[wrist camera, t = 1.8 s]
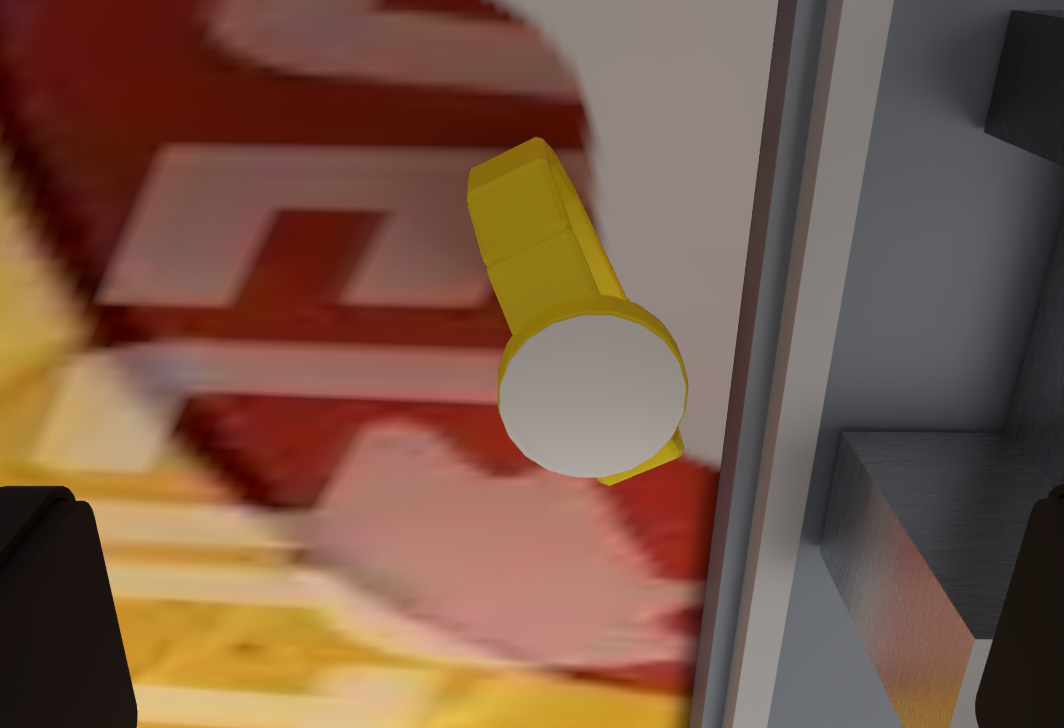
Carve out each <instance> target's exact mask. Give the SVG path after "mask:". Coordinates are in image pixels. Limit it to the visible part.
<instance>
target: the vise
mask: <svg viewBox="0 0 1064 728" xmlns="http://www.w3.org/2000/svg"><path fill="white" fill-rule="evenodd" d="M1011 10H1062V11H1064V0H779V2H778V10H777V18H776V26H775V34H774V42H773V50H772V59H771V67H770V75H769V82H768V90H767V99H766V107H765V115H764V123H763V131H762V139H761V147H760V156H759V164H758V171H757V179H756V188H755V195H754V203H753V211H752V220H751V228H750V236H749V244H748V252H747V260H746V268H745V276H744V284H743V292H742V300H741V308H740V317H739V325H738V333H737V341H736V349H735V357H734V365H733V373H732V381H731V390H730V398H729V405H728V413H727V421H726V430H725V437H724V445H723V453H722V462H721V470H720V478H719V486H718V494H717V502H716V510H715V518H714V526H713V534H712V542H711V550H710V558H709V566H708V574H707V582H706V591H705V599H704V607H703V615H702V623H701V631H700V639H699V647H698V655H697V663H696V671H695V679H694V687H693V695H692V703H691V712H690V720H689V728H903V726H902V724H901V722H900V720H899V718H898V715H897V713H896V711H895V709H894V707H893V705H892V703H891V701H890V699H889V697H888V695H887V692H886V690H885V688H884V686H883V684H882V682H881V680H880V678H879V676H878V674H877V672H876V669H875V667H874V665H873V663H872V661H871V659H870V657H869V655H868V653H867V651H866V649H865V646H864V644H863V642H862V640H861V638H860V636H859V634H858V632H857V630H856V628H855V626H854V623H853V621H852V619H851V617H850V615H849V613H848V611H847V609H846V607H845V605H844V603H843V600H842V598H841V596H840V594H839V592H838V590H837V588H836V586H835V584H834V582H833V580H832V577H831V575H830V573H829V571H828V569H827V567H826V565H825V563H824V561H823V559H822V557H821V554H820V552H819V551H820V546H821V540H822V535H823V530H824V524H825V519H826V513H827V508H828V503H829V497H830V492H831V487H832V481H833V476H834V471H835V465H836V460H837V455H838V449H839V444H840V439H841V433H842V431H863V432H954V433H1004V430H1005V426H1006V422H1007V419H1008V415H1009V411H1010V408H1011V404H1012V400H1013V397H1014V393H1015V390H1016V386H1017V382H1018V379H1019V375H1020V371H1021V368H1022V364H1023V360H1024V357H1025V353H1026V350H1027V346H1028V342H1029V339H1030V335H1031V331H1032V328H1033V324H1034V320H1035V317H1036V313H1037V310H1038V306H1039V302H1040V299H1041V295H1042V291H1043V288H1044V284H1045V280H1046V277H1047V273H1048V270H1049V266H1050V262H1051V259H1052V255H1053V251H1054V248H1055V244H1056V240H1057V237H1058V233H1059V229H1060V226H1061V222H1062V219H1063V215H1064V167H1063V166H1061V165H1058V164H1056V163H1054V162H1051V161H1049V160H1047V159H1044V158H1042V157H1040V156H1037V155H1035V154H1033V153H1030V152H1028V151H1026V150H1023V149H1021V148H1019V147H1016V146H1014V145H1012V144H1009V143H1007V142H1005V141H1002V140H1000V139H998V138H995V137H993V136H991V135H988V134H986V133H984V128H985V124H986V119H987V115H988V110H989V106H990V102H991V97H992V93H993V88H994V84H995V80H996V75H997V71H998V66H999V62H1000V58H1001V53H1002V49H1003V44H1004V40H1005V36H1006V31H1007V27H1008V22H1009V18H1010V14H1011Z"/></svg>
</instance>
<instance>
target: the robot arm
mask: <svg viewBox="0 0 1064 728" xmlns="http://www.w3.org/2000/svg"><path fill="white" fill-rule="evenodd" d="M975 714H976V720H977V724H978V727H979V728H1064V484H1061V485H1058V486H1055V487H1054V488H1053V489H1052V490H1051V492H1050V493H1049V494H1048V496H1047V498H1043V499H1040V500H1038V501H1037V502H1036V503H1035V504H1034V506H1033V508H1032V510H1031V513H1030V516H1029V520H1028V523H1027V526H1026V530H1025V533H1024V537H1023V540H1022V543H1021V547H1020V550H1019V553H1018V557H1017V560H1016V563H1015V567H1014V570H1013V574H1012V577H1011V580H1010V584H1009V587H1008V590H1007V594H1006V597H1005V600H1004V604H1003V607H1002V611H1001V614H1000V617H999V621H998V624H997V627H996V631H995V634H994V637H993V641H992V644H991V647H990V651H989V654H988V658H987V661H986V664H985V668H984V671H983V674H982V678H981V681H980V684H979V688H978V691H977V695H976V700H975ZM0 728H137V704H136V700H135V695H134V691H133V686H132V682H131V677H130V673H129V668H128V664H127V659H126V655H125V651H124V646H123V642H122V637H121V633H120V628H119V624H118V619H117V615H116V610H115V606H114V601H113V597H112V592H111V588H110V584H109V579H108V575H107V570H106V566H105V561H104V557H103V552H102V548H101V543H100V539H99V534H98V530H97V525H96V521H95V517H94V513H93V510H92V508H91V506H90V505H89V503H87V502H85V501H76V500H75V497H74V495H73V494H72V492H71V491H70V489H68V488H66V487H64V486H5V487H0Z"/></svg>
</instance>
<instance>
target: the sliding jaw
mask: <svg viewBox="0 0 1064 728" xmlns="http://www.w3.org/2000/svg"><path fill="white" fill-rule="evenodd" d="M984 133H986V134H988V135H991V136H993V137H995V138H998V139H1000V140H1002V141H1005V142H1007V143H1009V144H1012V145H1014V146H1016V147H1019V148H1021V149H1023V150H1026V151H1028V152H1030V153H1033V154H1035V155H1037V156H1040V157H1042V158H1044V159H1047V160H1049V161H1051V162H1054V163H1056V164H1058V165H1061V166H1063V167H1064V11H1062V10H1011V14H1010V18H1009V22H1008V27H1007V31H1006V36H1005V40H1004V44H1003V49H1002V53H1001V58H1000V62H999V66H998V71H997V75H996V80H995V84H994V88H993V93H992V97H991V102H990V106H989V110H988V115H987V119H986V124H985V128H984ZM1061 484H1064V215H1063V219H1062V222H1061V226H1060V229H1059V233H1058V237H1057V240H1056V244H1055V248H1054V251H1053V255H1052V259H1051V262H1050V266H1049V270H1048V273H1047V277H1046V280H1045V284H1044V288H1043V291H1042V295H1041V299H1040V302H1039V306H1038V310H1037V313H1036V317H1035V320H1034V324H1033V328H1032V331H1031V335H1030V339H1029V342H1028V346H1027V350H1026V353H1025V357H1024V360H1023V364H1022V368H1021V371H1020V375H1019V379H1018V382H1017V386H1016V390H1015V393H1014V397H1013V400H1012V404H1011V408H1010V411H1009V415H1008V419H1007V422H1006V426H1005V430H1004V433H954V432H863V431H842V433H841V439H840V444H839V449H838V455H837V460H836V465H835V471H834V476H833V481H832V487H831V492H830V497H829V503H828V508H827V513H826V519H825V524H824V530H823V535H822V540H821V546H820V551H819V552H820V554H821V557H822V559H823V561H824V563H825V565H826V567H827V569H828V571H829V573H830V575H831V577H832V580H833V582H834V584H835V586H836V588H837V590H838V592H839V594H840V596H841V598H842V600H843V603H844V605H845V607H846V609H847V611H848V613H849V615H850V617H851V619H852V621H853V623H854V626H855V628H856V630H857V632H858V634H859V636H860V638H861V640H862V642H863V644H864V646H865V649H866V651H867V653H868V655H869V657H870V659H871V661H872V663H873V665H874V667H875V669H876V672H877V674H878V676H879V678H880V680H881V682H882V684H883V686H884V688H885V690H886V692H887V695H888V697H889V699H890V701H891V703H892V705H893V707H894V709H895V711H896V713H897V715H898V718H899V720H900V722H901V724H902V726H903V728H979V727H978V724H977V720H976V714H975V700H976V695H977V691H978V688H979V684H980V681H981V678H982V674H983V671H984V668H985V664H986V661H987V658H988V654H989V651H990V647H991V644H992V641H993V637H994V634H995V631H996V627H997V624H998V621H999V617H1000V614H1001V611H1002V607H1003V604H1004V600H1005V597H1006V594H1007V590H1008V587H1009V584H1010V580H1011V577H1012V574H1013V570H1014V567H1015V563H1016V560H1017V557H1018V553H1019V550H1020V547H1021V543H1022V540H1023V537H1024V533H1025V530H1026V526H1027V523H1028V520H1029V516H1030V513H1031V510H1032V508H1033V506H1034V504H1035V503H1036V502H1037V501H1038V500H1040V499H1043V498H1047V496H1048V494H1049V493H1050V492H1051V490H1052V489H1053V488H1054V487H1055V486H1058V485H1061Z"/></svg>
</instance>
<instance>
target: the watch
mask: <svg viewBox="0 0 1064 728" xmlns="http://www.w3.org/2000/svg"><path fill="white" fill-rule="evenodd" d="M467 202H468V205H467V206H468V209H469V213H470V217H471V220H472V224H473V227H474V231H475V235H476V238H477V242H478V245H479V249H480V253H481V256H482V260H483V262H484V264H485V265H486V266H487V268H488V269H487V271H486V272H487V274H488V276H489V279H490V281H491V284H492V286H493V289H494V291H495V294H496V296H497V298H498V301H499V303H500V306H501V308H502V311H503V313H504V316H505V318H506V320H507V323H508V325H509V328H510V330H511V333H512V337H511V338H510V339H509V341H508V343H507V345H506V348H505V350H504V353H503V356H502V358H501V361H500V364H499V368H498V410H499V413H500V416H501V418H502V421H503V424H504V426H505V429H506V431H507V433H508V436H509V437H510V438H511V440H512V441H513V442H514V443H515V444H516V446H517V447H518V448H519V449H520V450H521V451H522V453H523V454H524V455H525V456H526V457H528V458H529V459H531V460H533V461H534V462H536V463H537V464H539V465H541V466H542V467H544V468H545V469H547V470H550V471H553V472H557V473H560V474H564V475H568V476H571V477H596V478H597V480H598V481H599V482H601V483H603V484H605V485H607V486H610V485H613V484H615V483H618V482H620V481H623V480H625V479H627V478H630V477H632V476H635V475H637V474H640V473H642V472H645V471H647V470H649V469H652V468H654V467H657V466H659V465H662V464H664V463H667V462H669V461H671V460H674V459H676V458H678V457H680V456H682V453H683V451H684V448H683V447H684V445H683V442H682V438H681V435H680V431H679V428H678V425H679V423H680V421H681V418H682V416H683V414H684V412H685V409H686V402H687V393H688V380H687V376H686V372H685V368H684V364H683V360H682V358H681V355H680V352H679V350H678V347H677V344H676V342H675V340H674V339H673V338H672V336H671V335H670V333H669V332H668V330H667V329H666V327H665V326H664V325H663V323H662V322H661V321H660V320H659V319H658V318H656V317H655V316H654V315H652V314H651V313H649V312H648V311H647V310H645V309H644V308H642V307H641V306H639V305H638V304H636V303H633V302H630V301H629V299H627V298H626V296H625V293H624V291H623V289H622V287H621V285H620V283H619V281H618V279H617V277H616V274H615V272H614V270H613V268H612V266H611V264H610V262H609V260H608V257H607V255H606V253H605V251H604V249H603V247H602V245H601V243H600V240H599V238H598V236H597V234H596V232H595V230H594V228H593V226H592V224H591V221H590V219H589V217H588V215H587V213H586V211H585V209H584V207H583V204H582V202H581V200H580V198H579V196H578V194H577V192H576V189H575V187H574V185H573V184H572V182H571V180H570V178H569V176H568V175H567V173H566V171H565V169H564V167H563V166H562V164H561V162H560V160H559V159H558V157H557V155H556V154H555V152H554V150H553V149H552V148H551V147H550V146H549V145H548V144H547V143H546V142H545V140H544V139H541V138H539V137H534V138H532V139H530V140H528V141H526V142H524V143H522V144H520V145H518V146H516V147H514V148H512V149H510V150H508V151H506V152H504V153H502V154H500V155H498V156H496V157H494V158H492V159H490V160H488V161H486V162H484V163H482V164H480V165H478V166H476V167H474V168H472V169H471V170H470V173H469V176H468V187H467Z"/></svg>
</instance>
